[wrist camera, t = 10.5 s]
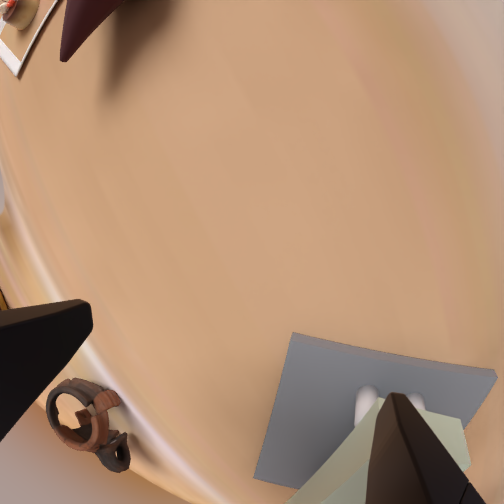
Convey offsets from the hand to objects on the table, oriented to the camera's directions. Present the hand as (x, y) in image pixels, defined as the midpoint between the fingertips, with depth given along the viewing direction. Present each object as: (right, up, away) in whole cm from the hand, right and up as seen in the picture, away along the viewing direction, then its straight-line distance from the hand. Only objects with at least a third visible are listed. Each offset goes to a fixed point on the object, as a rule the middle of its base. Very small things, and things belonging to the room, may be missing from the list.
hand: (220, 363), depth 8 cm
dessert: (-23, +29, +12) cm, 39 cm away
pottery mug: (-16, -15, +23) cm, 32 cm away
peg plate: (+10, -12, +14) cm, 21 cm away
